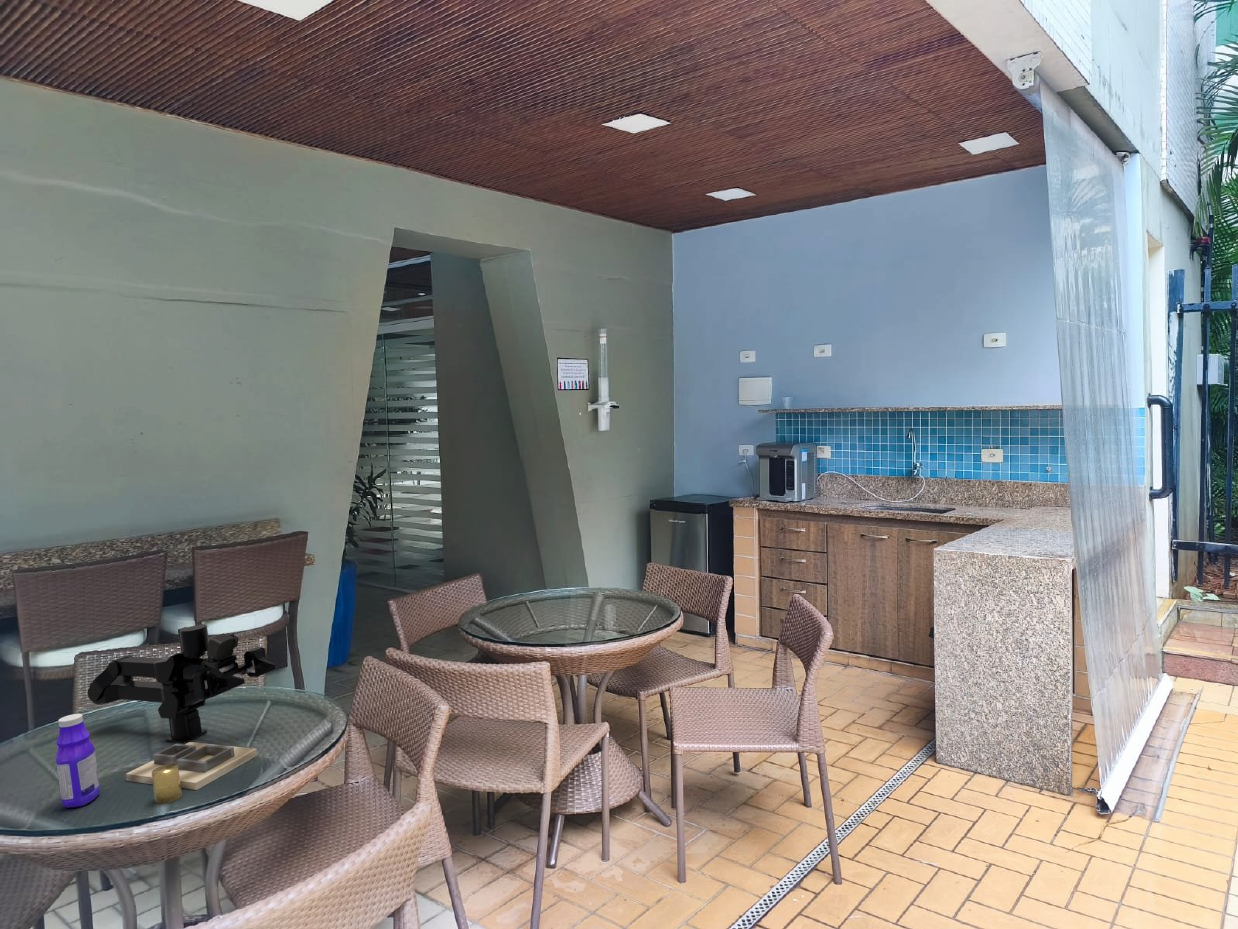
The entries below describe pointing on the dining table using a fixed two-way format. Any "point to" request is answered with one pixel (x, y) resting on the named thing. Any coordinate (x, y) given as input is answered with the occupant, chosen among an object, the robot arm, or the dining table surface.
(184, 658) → the robot arm
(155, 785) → the cylinder
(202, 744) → the board
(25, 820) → the dining table surface
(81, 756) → the bottle
